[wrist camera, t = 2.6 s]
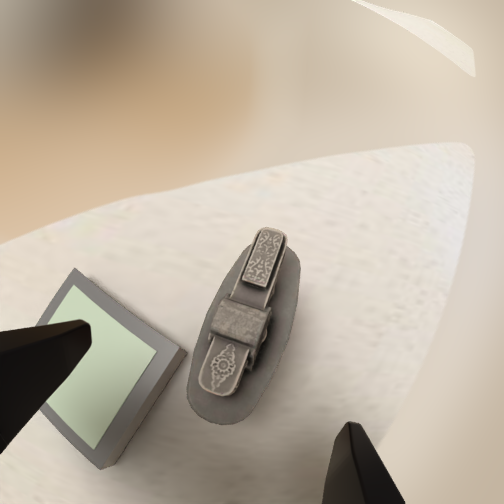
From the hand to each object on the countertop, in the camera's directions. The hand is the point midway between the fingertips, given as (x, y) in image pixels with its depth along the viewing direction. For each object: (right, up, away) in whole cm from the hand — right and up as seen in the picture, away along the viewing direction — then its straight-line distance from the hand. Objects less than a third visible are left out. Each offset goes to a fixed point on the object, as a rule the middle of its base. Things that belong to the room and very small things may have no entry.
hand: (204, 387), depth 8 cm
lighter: (+1, -2, +10) cm, 10 cm away
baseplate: (-9, -4, +9) cm, 14 cm away
